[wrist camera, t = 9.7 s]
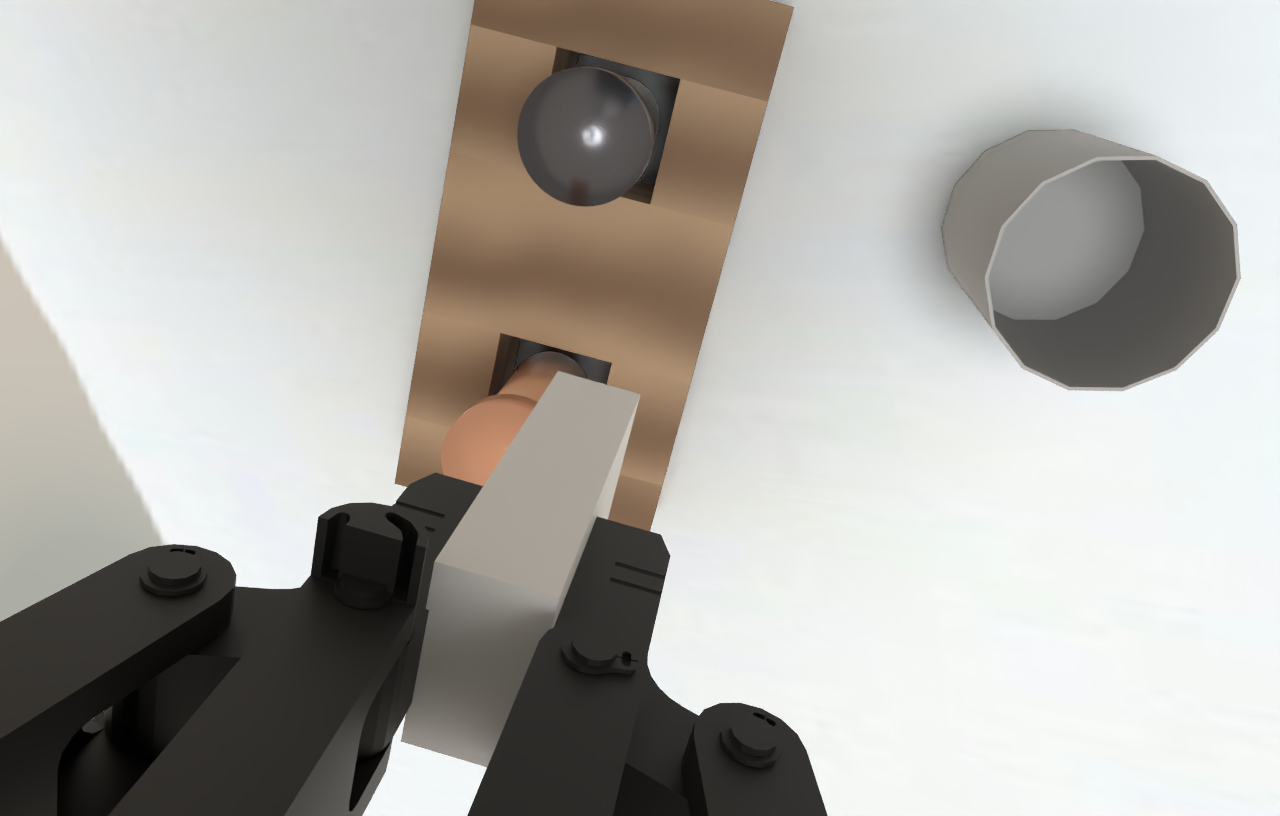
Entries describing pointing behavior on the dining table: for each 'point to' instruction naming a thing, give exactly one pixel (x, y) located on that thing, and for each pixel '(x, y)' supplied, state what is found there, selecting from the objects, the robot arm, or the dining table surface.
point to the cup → (1091, 257)
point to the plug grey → (587, 134)
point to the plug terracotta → (500, 418)
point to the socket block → (590, 220)
